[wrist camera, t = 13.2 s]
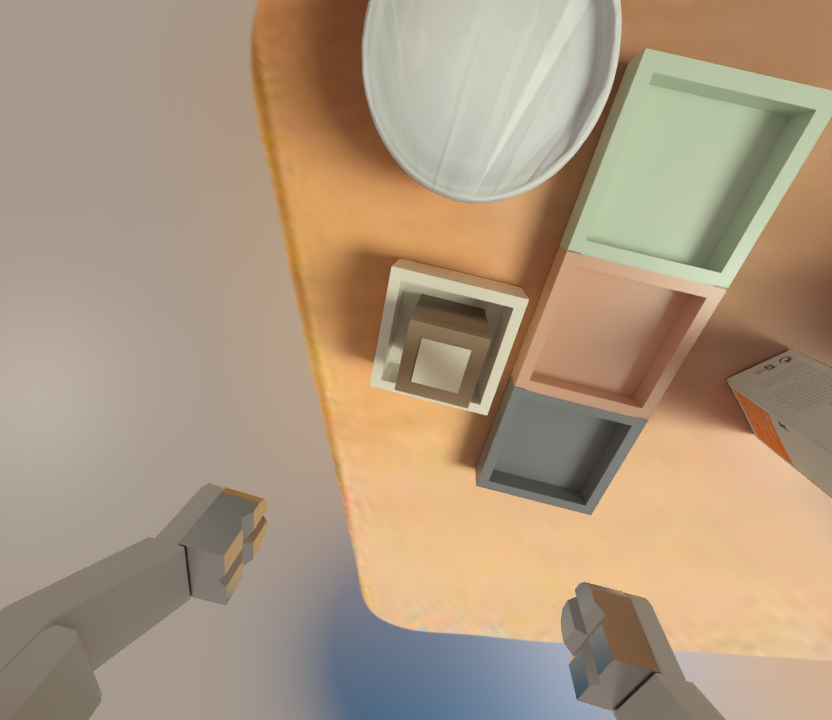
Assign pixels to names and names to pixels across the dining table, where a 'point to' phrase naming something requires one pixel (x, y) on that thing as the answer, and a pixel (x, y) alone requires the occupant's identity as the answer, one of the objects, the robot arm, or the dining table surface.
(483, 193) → the ramekin
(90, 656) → the robot arm
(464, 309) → the tan block
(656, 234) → the tray near sage
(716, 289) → the tray middle terracotta
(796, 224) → the dining table surface
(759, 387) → the skincare box
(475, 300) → the cream square open box
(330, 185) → the dining table surface
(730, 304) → the dining table surface
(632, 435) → the tray far charcoal
